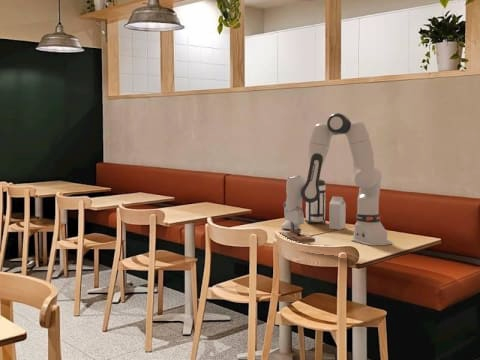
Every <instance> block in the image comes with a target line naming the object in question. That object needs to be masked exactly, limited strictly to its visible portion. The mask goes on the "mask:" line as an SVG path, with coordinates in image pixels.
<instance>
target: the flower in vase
mask: <svg viewBox="0 0 480 360" xmlns="http://www.w3.org/2000/svg"><path fill="white" fill-rule="evenodd" d="M281 228H283V229H285V230H291V226H290V221H288V220H285V221H284V222H283V223H282V224H281ZM299 228H301V225H299V226H298V229H299Z"/></svg>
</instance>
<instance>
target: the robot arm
mask: <svg viewBox="0 0 480 360" xmlns="http://www.w3.org/2000/svg"><path fill="white" fill-rule="evenodd" d="M336 135H345V136H346V138H347V140H348V145H349V148H350V152H351V153H350V154H351V157H352V163H353V165H352V166H353V173H354V183H355V184H356V186H357V187H358V188H359V191H358V195H357V205H356V207H357V213H356V216H355V217H356V222H355V224H354V225H353V226H354V229H353V237H352V238H351V242H356V243H359V244H363V245H367V246H386V245H393V242H392V241H391V240H390V239H388V230H387V229H385V227H384V226H383V224H382V223H381V216H380V213H379V211H380V210H379V204H380V203H379V201H380V193H381V185H382V172H381V171H380V169H378V168H377V167H376V166H375V161H374V151H373V147H372V143H371V139H370V136H369V132H368V130H367V128H366V125H365V124H364V122H362V121H351V120H350V118H349V117H348V116H346V115H345V114H343V113H339V112H337V113H335V112H334V113H333V114H331V115H329V116H328V118H327V121H326V123H322V122H321V123H316V125H314V127H313V129H312V132H311V135H310V138H309V143H308V150H307V151H308V161H309V168H308V173H307V179H305V177H304V178H303V177H302V176H301V175H293V176H289V177H288V179H287V180H286V186H285V188H286V189H285V192H286V199H285V202H283V208H284V209H283V212H284V213H283V214H284V219H285V221H287V220H288V221H290V226H291V225H295V226H294V230H299V228H298V226H299V225H300V226H301V225H304V223H305V215H304V211H303V201H304V202H305V203H306V202H308V203H313V202H315V201H317V200H318V199H319V197H320V190H319V179H320V176H321V172H322V168H323V166H324V165H323V164H324V162H325V160H326V158H327V156H328V153H329V151H330V145H331V140H332V138H333V136H336Z"/></svg>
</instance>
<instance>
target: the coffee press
mask: <svg viewBox="0 0 480 360" xmlns="http://www.w3.org/2000/svg"><path fill="white" fill-rule="evenodd" d="M326 185H327V183H326V181H325V180H324V179H320V178H319V190H320V197H319V199H318V200H317V201H315V202H313V203H308V202H306V201H305V219H304V222H306V223H307V225H311V224H312V223H322V224H323V225H326V192H327V191H326V190H327V189H326Z"/></svg>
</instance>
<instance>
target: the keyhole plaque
mask: <svg viewBox="0 0 480 360" xmlns="http://www.w3.org/2000/svg"><path fill="white" fill-rule="evenodd" d="M294 226H295V225H291V229H290V231H286V232H287V234H288V235H290V236H292V237H294V238H296V239H311V237H312V236H311V235H309V234H306V233H304V232H302V233H299V235H300V236H301V237H298V236H297V234H296V233H294ZM308 235H309V236H308ZM310 236H311V237H310Z"/></svg>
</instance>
